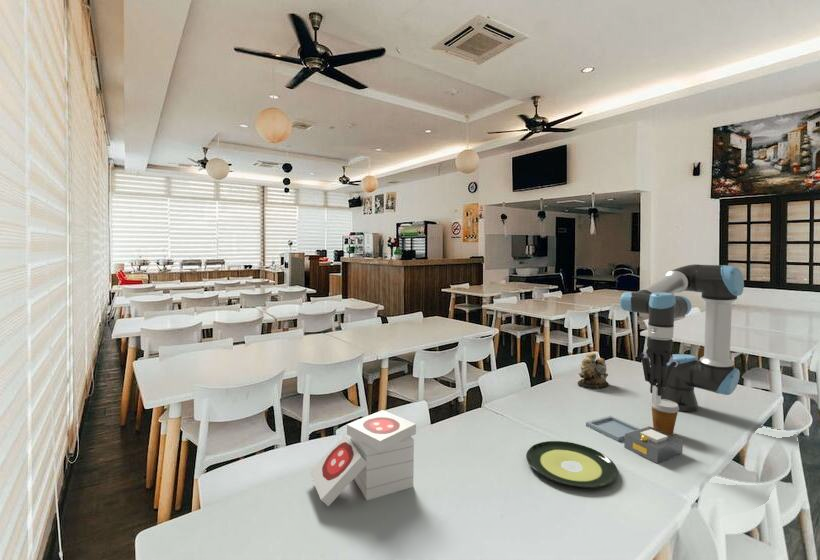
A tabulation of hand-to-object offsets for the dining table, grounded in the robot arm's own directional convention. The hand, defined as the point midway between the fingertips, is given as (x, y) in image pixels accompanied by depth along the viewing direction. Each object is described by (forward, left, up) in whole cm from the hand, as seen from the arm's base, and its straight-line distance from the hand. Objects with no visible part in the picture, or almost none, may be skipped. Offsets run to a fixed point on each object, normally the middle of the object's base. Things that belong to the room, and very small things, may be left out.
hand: (656, 403), depth 142 cm
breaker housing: (0, 0, -17) cm, 17 cm away
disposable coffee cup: (-17, -7, -18) cm, 25 cm away
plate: (+35, -5, -18) cm, 40 cm away
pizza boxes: (+99, -25, -18) cm, 104 cm away
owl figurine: (-37, -56, -18) cm, 69 cm away
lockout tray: (-2, -17, -17) cm, 24 cm away
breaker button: (0, 0, -17) cm, 17 cm away
